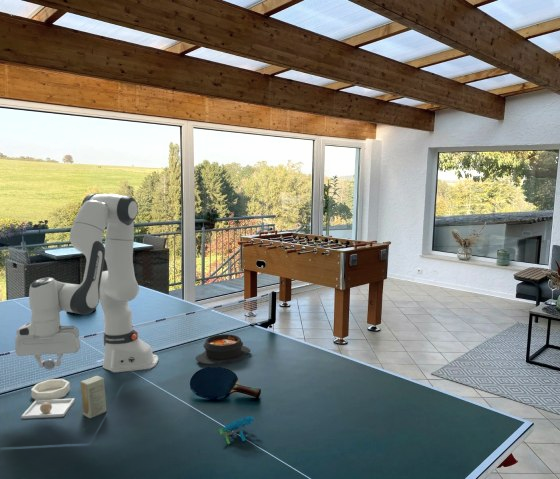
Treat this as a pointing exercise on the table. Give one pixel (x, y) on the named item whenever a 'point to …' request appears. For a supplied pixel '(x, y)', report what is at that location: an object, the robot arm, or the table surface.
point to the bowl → (50, 389)
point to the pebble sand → (46, 407)
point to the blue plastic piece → (236, 428)
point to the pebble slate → (49, 364)
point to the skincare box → (93, 396)
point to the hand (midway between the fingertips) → (49, 366)
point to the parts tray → (57, 409)
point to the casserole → (222, 349)
